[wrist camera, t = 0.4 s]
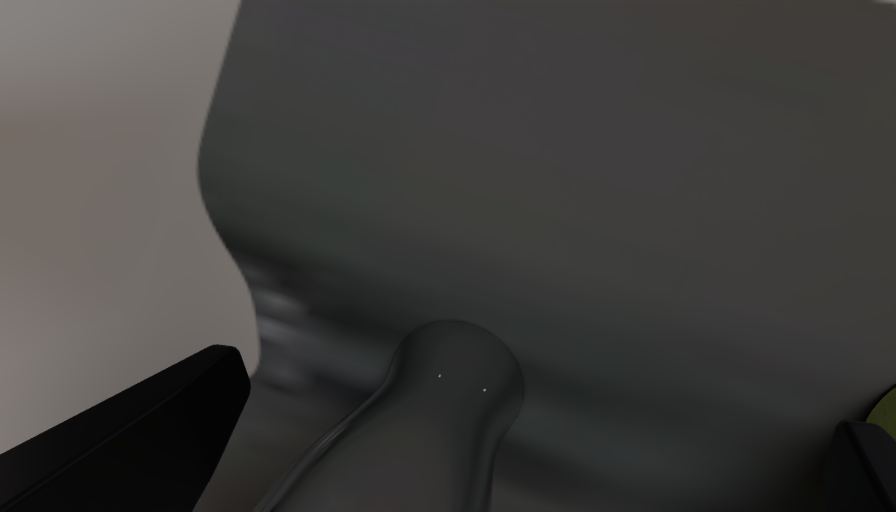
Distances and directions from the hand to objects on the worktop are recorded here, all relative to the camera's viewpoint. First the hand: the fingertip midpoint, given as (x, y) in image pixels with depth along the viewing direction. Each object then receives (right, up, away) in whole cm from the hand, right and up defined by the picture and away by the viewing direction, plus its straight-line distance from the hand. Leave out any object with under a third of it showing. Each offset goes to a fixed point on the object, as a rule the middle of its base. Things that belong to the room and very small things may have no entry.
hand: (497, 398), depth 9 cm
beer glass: (0, -3, +18) cm, 19 cm away
